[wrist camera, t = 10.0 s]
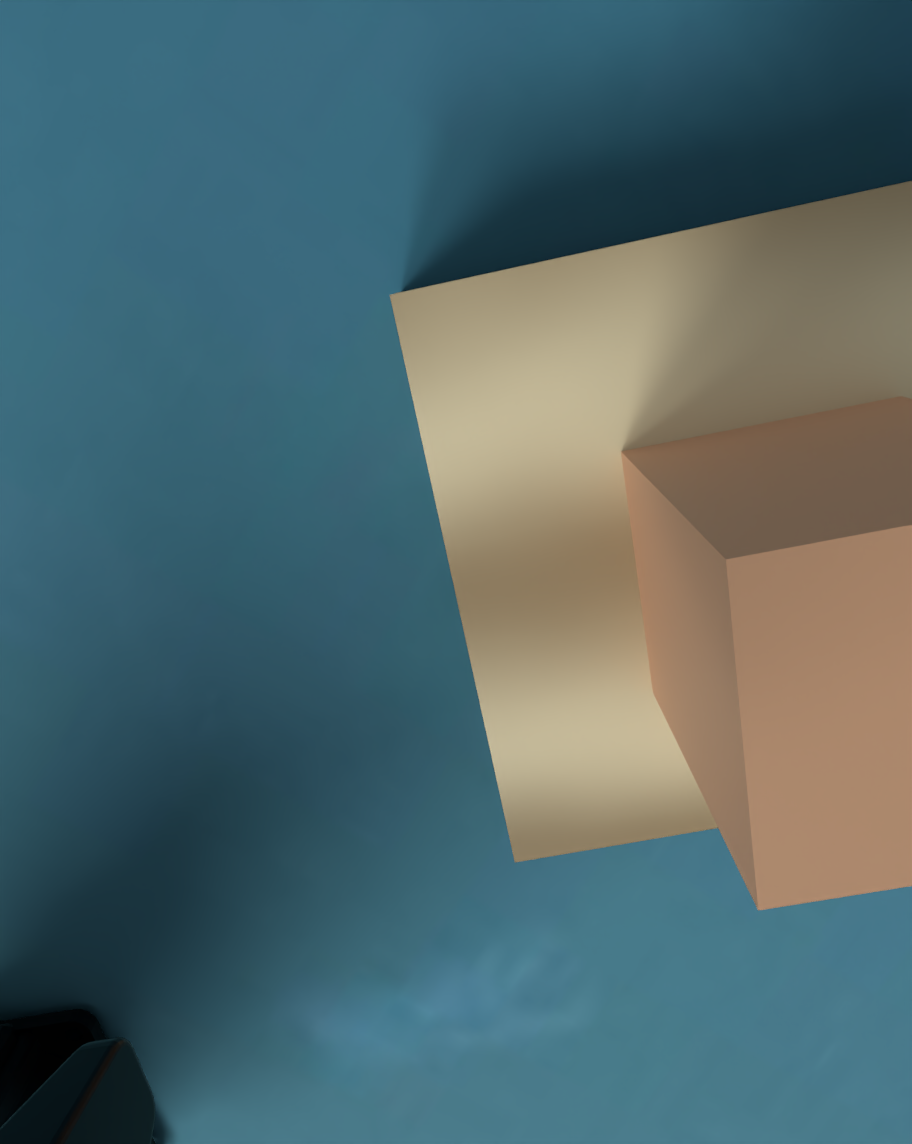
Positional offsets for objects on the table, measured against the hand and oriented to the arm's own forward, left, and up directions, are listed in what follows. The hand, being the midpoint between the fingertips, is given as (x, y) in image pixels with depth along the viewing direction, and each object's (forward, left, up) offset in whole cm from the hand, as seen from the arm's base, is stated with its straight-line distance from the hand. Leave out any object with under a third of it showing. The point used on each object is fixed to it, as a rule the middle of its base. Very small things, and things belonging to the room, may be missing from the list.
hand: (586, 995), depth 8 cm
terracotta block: (+1, -5, -9) cm, 10 cm away
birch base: (+1, -5, -12) cm, 13 cm away
